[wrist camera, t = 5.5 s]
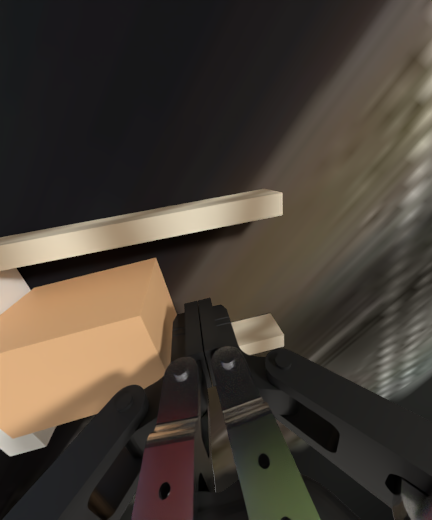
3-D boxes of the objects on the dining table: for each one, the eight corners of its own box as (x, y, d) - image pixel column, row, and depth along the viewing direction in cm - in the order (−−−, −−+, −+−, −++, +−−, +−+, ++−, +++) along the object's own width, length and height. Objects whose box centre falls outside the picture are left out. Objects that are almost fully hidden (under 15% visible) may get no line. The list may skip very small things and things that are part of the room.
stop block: (-4, 238, 11) (-123, 282, 7) (83, 370, 16) (46, 446, 12) (-42, 245, 11) (-189, 294, 7) (57, 376, 16) (9, 456, 12)
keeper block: (156, 257, 13) (139, 315, 8) (176, 314, 16) (175, 390, 10) (33, 288, 13) (-71, 371, 8) (72, 342, 15) (12, 438, 10)
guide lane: (264, 188, 13) (282, 192, 11) (270, 323, 18) (284, 346, 15) (-4, 238, 11) (-49, 254, 9) (83, 370, 16) (67, 402, 14)
